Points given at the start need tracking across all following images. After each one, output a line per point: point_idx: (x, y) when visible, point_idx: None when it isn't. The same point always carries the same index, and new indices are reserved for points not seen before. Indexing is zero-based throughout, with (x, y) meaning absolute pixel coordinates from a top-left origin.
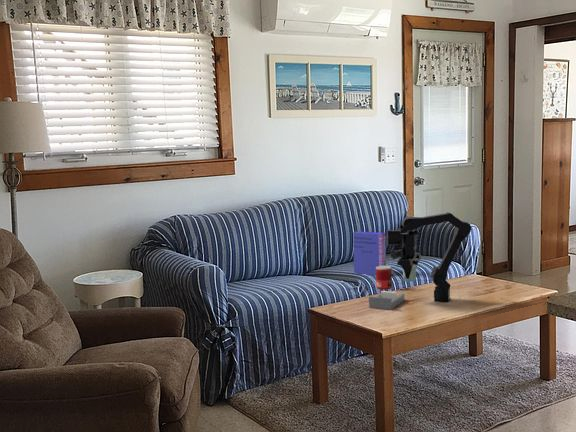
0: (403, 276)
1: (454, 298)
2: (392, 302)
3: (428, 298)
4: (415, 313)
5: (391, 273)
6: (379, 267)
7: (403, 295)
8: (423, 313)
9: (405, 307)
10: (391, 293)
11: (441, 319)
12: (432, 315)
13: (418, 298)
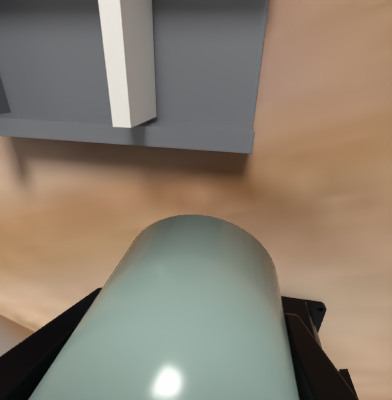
0: (127, 259)
1: (328, 356)
2: (2, 135)
3: (312, 264)
4: (27, 245)
5: None
6: None
7: (227, 150)
8: (45, 271)
9: (88, 188)
10: (112, 79)
11: (19, 322)
12: (42, 299)
13: (304, 216)
